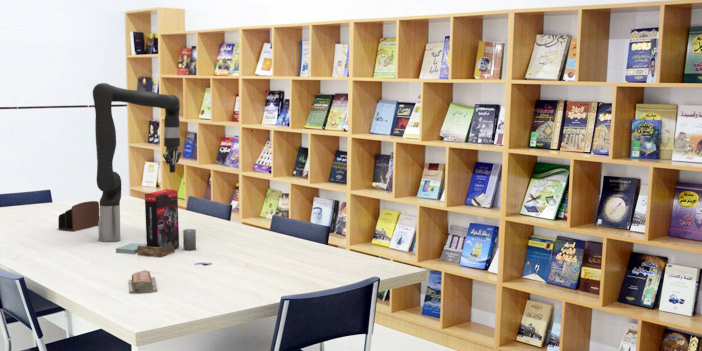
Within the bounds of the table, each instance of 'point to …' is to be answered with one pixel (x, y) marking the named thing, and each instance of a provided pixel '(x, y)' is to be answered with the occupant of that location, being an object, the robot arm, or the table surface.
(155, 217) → the graphics card box
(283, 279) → the table surface
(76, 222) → the letter holder
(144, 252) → the brown wooden angled bracket
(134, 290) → the packaged product
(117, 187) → the robot arm
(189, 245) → the grey rounded capsule
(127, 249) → the light blue rectangular block
